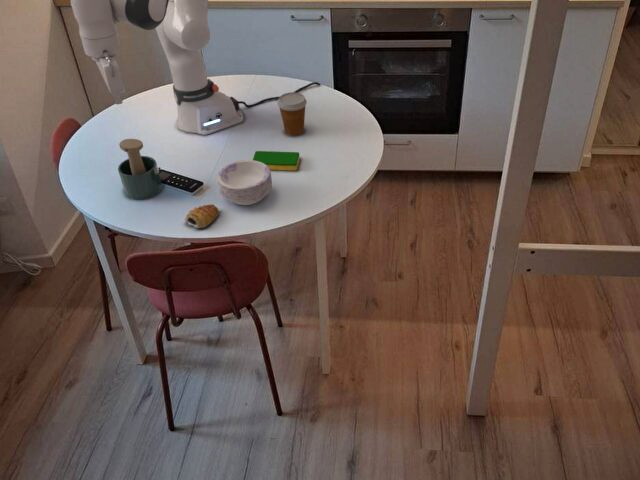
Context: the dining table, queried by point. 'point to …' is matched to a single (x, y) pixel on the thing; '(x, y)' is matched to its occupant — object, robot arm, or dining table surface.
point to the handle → (134, 155)
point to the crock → (140, 179)
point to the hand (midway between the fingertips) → (115, 95)
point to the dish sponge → (278, 159)
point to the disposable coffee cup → (292, 112)
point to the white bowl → (244, 181)
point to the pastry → (202, 216)
